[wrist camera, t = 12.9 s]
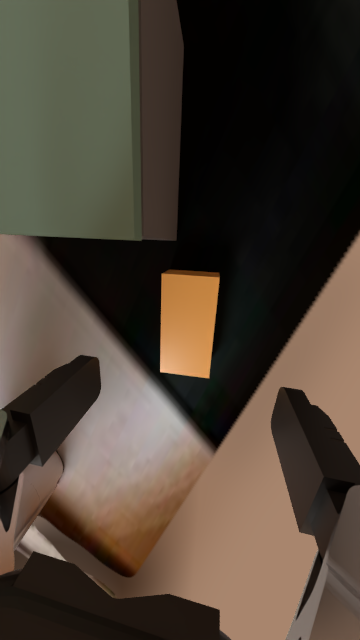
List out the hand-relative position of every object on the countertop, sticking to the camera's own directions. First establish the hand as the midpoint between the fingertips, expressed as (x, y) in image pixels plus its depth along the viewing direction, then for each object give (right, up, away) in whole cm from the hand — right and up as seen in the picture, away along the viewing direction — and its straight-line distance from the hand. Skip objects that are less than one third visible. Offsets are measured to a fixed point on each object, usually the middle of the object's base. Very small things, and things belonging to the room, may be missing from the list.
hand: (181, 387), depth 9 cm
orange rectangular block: (+1, +3, +9) cm, 10 cm away
